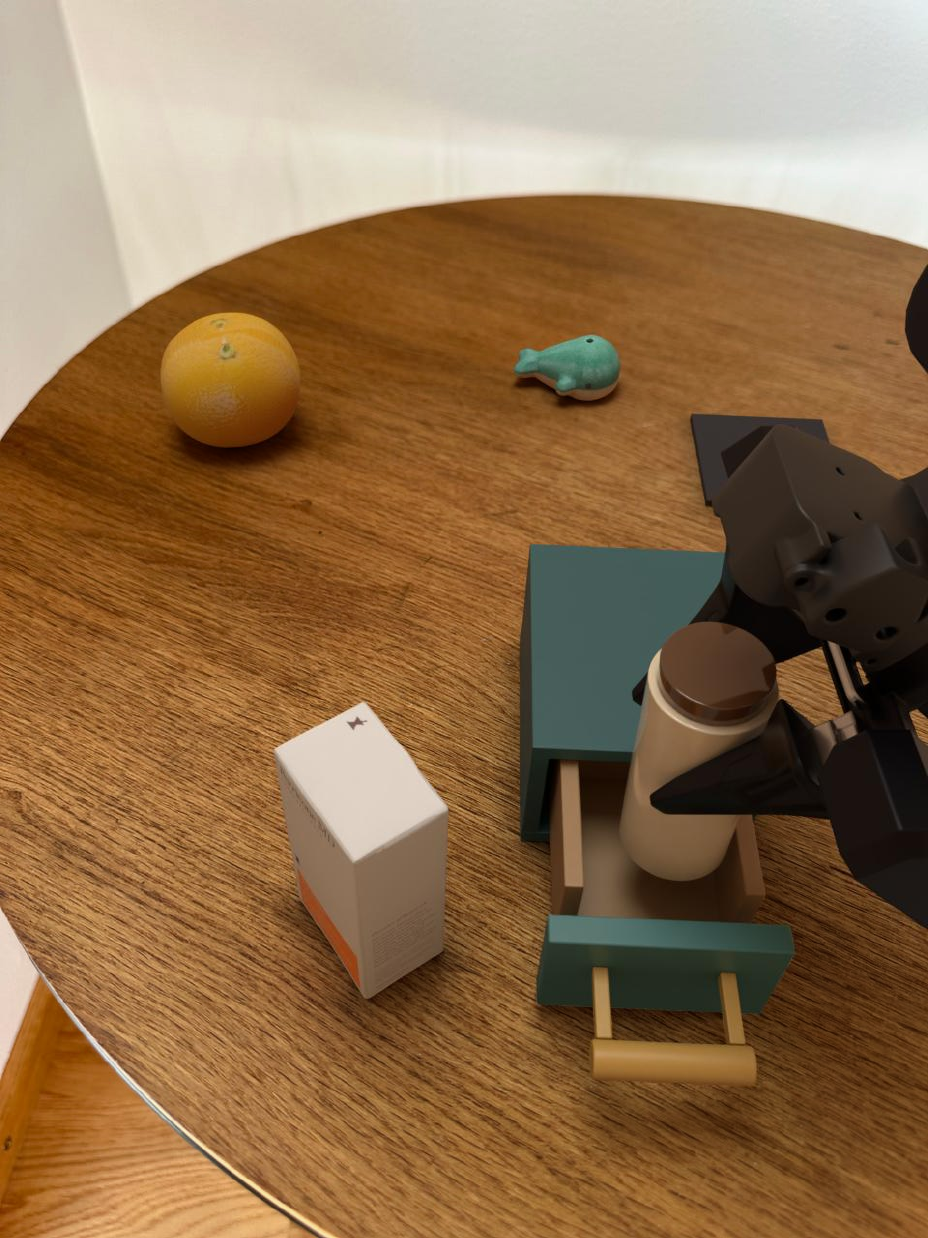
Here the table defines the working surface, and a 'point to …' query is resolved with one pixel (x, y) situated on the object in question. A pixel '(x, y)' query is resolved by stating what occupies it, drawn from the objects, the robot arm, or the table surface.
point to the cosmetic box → (366, 845)
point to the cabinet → (594, 652)
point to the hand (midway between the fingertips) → (646, 751)
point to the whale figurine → (574, 367)
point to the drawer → (652, 936)
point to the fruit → (230, 380)
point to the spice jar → (693, 741)
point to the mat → (734, 441)
